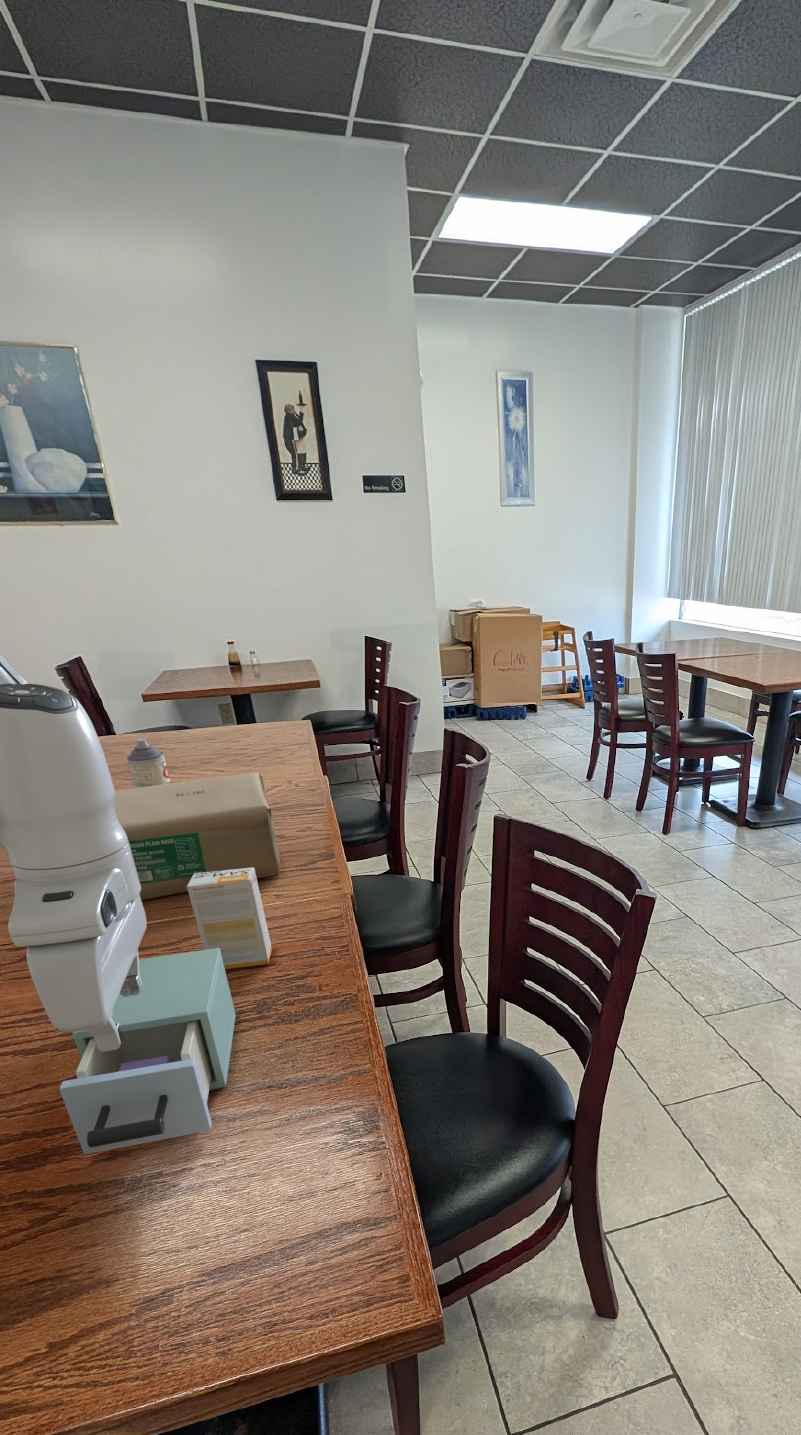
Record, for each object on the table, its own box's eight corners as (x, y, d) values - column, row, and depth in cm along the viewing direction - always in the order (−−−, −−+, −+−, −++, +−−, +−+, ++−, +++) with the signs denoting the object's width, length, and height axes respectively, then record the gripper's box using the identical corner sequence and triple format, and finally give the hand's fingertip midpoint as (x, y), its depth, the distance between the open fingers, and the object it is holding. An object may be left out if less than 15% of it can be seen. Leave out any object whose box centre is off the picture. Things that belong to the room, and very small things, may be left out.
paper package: (119, 907, 124) (95, 827, 118) (129, 857, 146) (110, 786, 140) (286, 879, 133) (272, 803, 127) (273, 835, 155) (260, 768, 148)
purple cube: (124, 1126, 73) (111, 1090, 71) (132, 1098, 77) (121, 1063, 75) (172, 1117, 74) (161, 1081, 72) (178, 1090, 78) (168, 1055, 76)
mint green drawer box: (226, 1086, 81) (206, 1011, 77) (99, 1109, 78) (71, 1033, 74) (235, 1015, 94) (219, 947, 90) (126, 1032, 91) (105, 963, 87)
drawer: (205, 1165, 69) (186, 1098, 66) (70, 1192, 67) (42, 1124, 63) (222, 1051, 85) (208, 992, 82) (114, 1070, 83) (94, 1010, 79)
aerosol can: (186, 836, 156) (163, 740, 147) (151, 844, 152) (125, 745, 143) (178, 828, 161) (155, 734, 152) (144, 835, 157) (119, 739, 149)
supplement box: (273, 949, 109) (256, 865, 103) (269, 965, 105) (251, 879, 99) (213, 955, 108) (193, 871, 102) (207, 972, 104) (185, 885, 98)
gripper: (72, 846, 73) (110, 970, 79) (-2, 938, 55) (55, 1089, 61) (142, 838, 74) (174, 961, 80) (92, 926, 56) (139, 1075, 62)
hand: (122, 1017), depth 70 cm, fingers open, 8 cm apart
